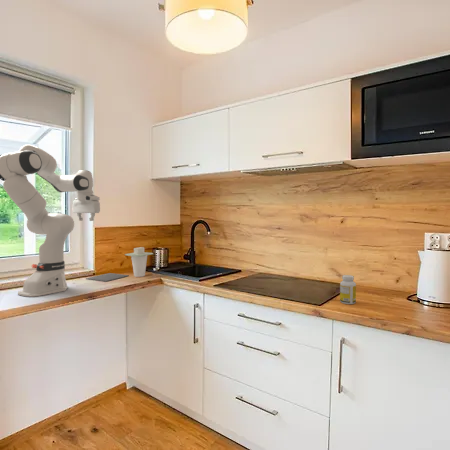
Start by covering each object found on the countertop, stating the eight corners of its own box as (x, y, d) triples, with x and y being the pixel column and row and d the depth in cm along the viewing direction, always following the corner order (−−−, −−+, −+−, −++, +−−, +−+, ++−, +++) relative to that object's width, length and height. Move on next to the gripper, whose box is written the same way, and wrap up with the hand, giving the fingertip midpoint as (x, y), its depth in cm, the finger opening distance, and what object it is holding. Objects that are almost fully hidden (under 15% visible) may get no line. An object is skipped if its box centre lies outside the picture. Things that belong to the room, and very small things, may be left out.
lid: (139, 256, 198) (139, 249, 198) (124, 255, 204) (124, 248, 203) (153, 254, 209) (153, 247, 208) (138, 253, 214) (138, 246, 214)
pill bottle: (354, 301, 148) (355, 275, 148) (356, 305, 142) (357, 277, 142) (339, 300, 150) (339, 274, 150) (340, 304, 144) (340, 277, 143)
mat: (105, 281, 190) (105, 280, 190) (86, 279, 197) (86, 278, 197) (128, 276, 205) (128, 275, 205) (109, 273, 213) (109, 273, 213)
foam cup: (130, 275, 209) (130, 254, 208) (145, 273, 213) (145, 253, 212) (133, 277, 200) (132, 256, 200) (148, 276, 204) (148, 255, 204)
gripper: (69, 197, 204) (69, 220, 204) (93, 197, 194) (93, 221, 195) (78, 198, 209) (78, 220, 210) (101, 197, 200) (102, 220, 200)
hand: (86, 220), depth 202 cm, fingers open, 8 cm apart
